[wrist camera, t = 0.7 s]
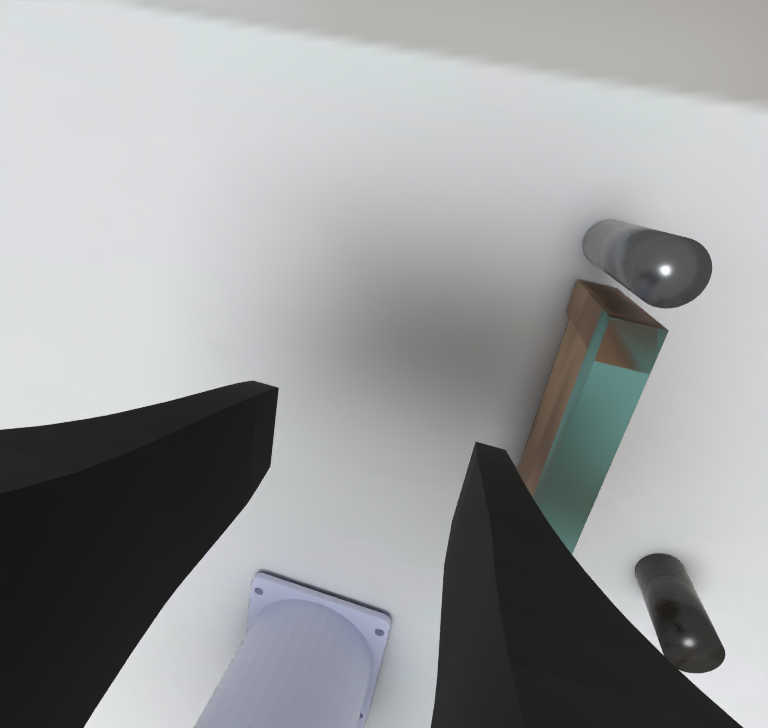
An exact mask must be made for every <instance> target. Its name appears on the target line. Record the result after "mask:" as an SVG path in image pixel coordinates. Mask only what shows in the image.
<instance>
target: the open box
mask: <svg viewBox="0 0 768 728" xmlns="http://www.w3.org/2000/svg"><path fill="white" fill-rule="evenodd" d="M566 312H567V314H568V315H569V317H570V319H569V322H568V325H567V328H566V331H565V333H564V336H563V339H562V342H561V345H560V348H559V351H558V354H557V357H556V360H555V363H554V365H553V368H552V371H551V374H550V377H549V380H548V383H547V386H546V389H545V392H544V395H543V397H542V400H541V403H540V406H539V409H538V412H537V415H536V418H535V421H534V424H533V426H532V429H531V432H530V435H529V438H528V441H527V444H526V447H525V450H524V453H523V456H522V458H521V461H520V464H519V467H518V470H517V471H518V473H519V475H520V476H521V478H522V480H523V482H524V483H525V485H526V487H527V489H528V490H529V492H530V494H531V495H532V497H533V499H534V500H535V502H536V504H537V505H538V507H539V508H540V510H541V512H542V513H543V515H544V516H545V518H546V519H547V521H548V522H549V524H550V525H551V527H552V528H553V529H554V531H555V532H556V534H557V535H558V536H559V538H560V539H561V540H562V542H563V543H564V545H565V546H566V547H567V549H568V550H569V551H570V553H571V554H572V553H573V551H574V548H575V546H576V544H577V542H578V539H579V537H580V535H581V532H582V530H583V528H584V525H585V523H586V521H587V518H588V516H589V514H590V511H591V509H592V507H593V504H594V502H595V500H596V497H597V495H598V493H599V491H600V488H601V486H602V484H603V481H604V479H605V477H606V474H607V472H608V470H609V467H610V465H611V463H612V460H613V458H614V456H615V453H616V451H617V449H618V447H619V444H620V442H621V440H622V437H623V435H624V433H625V430H626V428H627V426H628V423H629V421H630V419H631V416H632V414H633V412H634V409H635V407H636V405H637V403H638V400H639V398H640V396H641V393H642V391H643V389H644V386H645V384H646V382H647V379H648V377H649V375H650V372H651V370H652V368H653V365H654V363H655V361H656V359H657V356H658V354H659V352H660V349H661V347H662V345H663V342H664V340H665V338H666V335H667V333H668V330H667V329H666V328H665V327H663V326H662V325H661V324H660V323H659V322H657V321H656V320H655V319H654V318H653V317H651V316H650V315H649V314H648V313H646V312H645V311H644V310H643V309H642V308H640V307H639V306H638V305H637V304H635V303H634V302H633V301H632V300H631V299H629V298H628V297H627V296H626V295H624V294H623V293H622V292H621V291H620V290H618V289H617V288H613V287H608V286H604V285H599V284H595V283H590V282H585V281H581V280H577V281H576V284H575V287H574V290H573V293H572V296H571V299H570V302H569V305H568V308H567V310H566Z"/></svg>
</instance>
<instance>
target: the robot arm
mask: <svg viewBox="0 0 768 728" xmlns="http://www.w3.org/2000/svg"><path fill="white" fill-rule="evenodd" d="M278 389H279V388H278V387H274V386H270V385H267V384H263V383H259V382H256V381H247V382H241V383H237V384H232V385H228V386H224V387H220V388H217V389H213V390H209V391H205V392H202V393H198V394H194V395H190V396H187V397H183V398H179V399H175V400H172V401H168V402H164V403H159V404H155V405H151V406H146V407H142V408H138V409H133V410H129V411H125V412H120V413H116V414H111V415H106V416H101V417H95V418H90V419H84V420H77V421H71V422H64V423H58V424H51V425H43V426H35V427H25V428H14V429H4V430H0V728H84V726H85V724H86V723H87V721H88V720H89V718H90V716H91V715H92V713H93V711H94V710H95V708H96V707H97V705H98V704H99V702H100V701H101V699H102V698H103V696H104V694H105V693H106V691H107V690H108V688H109V687H110V685H111V684H112V682H113V681H114V679H115V678H116V676H117V674H118V673H119V671H120V670H121V668H122V667H123V665H124V664H125V662H126V661H127V659H128V658H129V656H130V655H131V653H132V652H133V650H134V649H135V647H136V646H137V644H138V643H139V641H140V640H141V638H142V637H143V635H144V634H145V632H146V631H147V630H148V628H149V627H150V625H151V624H152V622H153V621H154V619H155V618H156V616H157V615H158V613H159V612H160V610H161V609H162V608H163V606H164V605H165V603H166V602H167V601H168V600H169V598H170V597H171V596H172V594H173V593H174V592H175V590H176V589H177V588H178V587H179V585H180V584H181V583H182V582H183V580H184V579H185V578H186V577H187V576H188V574H189V573H190V572H191V571H192V570H193V568H194V567H195V566H196V565H197V564H198V562H199V561H200V560H201V559H202V558H203V556H204V555H205V554H206V553H207V552H208V551H209V549H210V548H211V547H212V546H213V545H214V543H215V542H216V541H217V540H218V539H219V537H220V536H221V535H222V534H223V533H224V531H225V530H226V529H227V528H228V527H229V525H230V524H231V523H232V522H233V520H234V519H235V518H236V517H237V516H238V514H239V513H240V512H241V511H242V509H243V508H244V507H245V506H246V504H247V503H248V502H249V500H250V499H251V497H252V495H253V494H254V492H255V491H256V489H257V488H258V486H259V484H260V483H261V481H262V479H263V478H264V476H265V474H266V473H267V471H268V469H269V468H270V465H271V455H272V446H273V436H274V427H275V417H276V408H277V398H278ZM390 627H391V619H390V618H389V617H388V616H387V615H385V614H383V613H380V612H377V611H374V610H371V609H368V608H365V607H362V606H359V605H357V604H354V603H351V602H348V601H345V600H342V599H339V598H336V597H333V596H330V595H327V594H324V593H321V592H318V591H315V590H312V589H309V588H306V587H303V586H300V585H297V584H294V583H291V582H288V581H285V580H282V579H279V578H276V577H273V576H270V575H268V574H265V573H257V574H255V576H254V577H253V579H252V583H251V593H250V603H249V613H248V623H247V633H246V637H245V639H244V640H243V642H242V644H241V646H240V647H239V649H238V651H237V653H236V654H235V656H234V658H233V660H232V661H231V663H230V665H229V667H228V669H227V670H226V672H225V674H224V676H223V677H222V679H221V681H220V683H219V684H218V686H217V688H216V690H215V691H214V693H213V695H212V697H211V698H210V700H209V702H208V704H207V705H206V707H205V709H204V711H203V712H202V714H201V716H200V718H199V719H198V721H197V723H196V725H195V726H194V728H364V726H365V723H366V719H367V715H368V711H369V707H370V703H371V700H372V696H373V692H374V688H375V684H376V680H377V677H378V673H379V669H380V665H381V661H382V657H383V654H384V650H385V646H386V642H387V638H388V635H389V631H390ZM380 629H381V630H380ZM431 728H743V727H742V726H741V725H739V724H738V723H737V722H736V721H735V720H734V719H733V718H731V717H730V716H729V715H728V714H727V713H726V712H725V711H724V710H722V709H721V708H720V707H719V706H718V705H717V704H716V703H714V702H713V701H712V700H711V699H710V698H709V697H708V696H706V695H705V694H704V693H703V692H702V691H701V690H700V689H699V688H697V687H696V686H695V685H694V684H693V683H692V682H691V681H690V680H689V679H688V678H687V677H686V676H685V675H683V674H682V673H681V672H680V671H679V670H678V669H677V668H676V667H675V666H674V665H673V664H672V663H671V662H670V661H669V660H667V659H666V658H665V657H664V656H663V655H662V654H661V653H660V652H659V651H658V650H657V649H656V648H655V647H654V646H653V645H652V644H651V643H650V642H649V641H648V640H647V639H646V638H645V637H644V636H643V635H642V634H641V633H640V632H639V631H638V630H637V629H636V628H635V627H634V626H633V625H632V624H631V622H630V621H629V620H628V619H627V618H626V617H625V616H624V615H623V614H622V613H621V612H620V611H619V610H618V609H617V607H616V606H615V605H614V604H613V603H612V602H611V601H610V600H609V599H608V597H607V596H606V595H605V594H604V593H603V592H602V590H601V589H600V588H599V587H598V586H597V585H596V583H595V582H594V581H593V580H592V579H591V578H590V576H589V575H588V574H587V573H586V572H585V571H584V569H583V568H582V567H581V566H580V564H579V563H578V562H577V561H576V559H575V558H574V557H573V555H572V554H571V553H570V551H569V550H568V549H567V547H566V546H565V545H564V543H563V542H562V540H561V539H560V538H559V536H558V535H557V534H556V532H555V531H554V529H553V528H552V527H551V525H550V524H549V522H548V521H547V519H546V518H545V516H544V515H543V513H542V512H541V510H540V508H539V507H538V505H537V504H536V502H535V500H534V499H533V497H532V495H531V494H530V492H529V490H528V489H527V487H526V485H525V483H524V482H523V480H522V478H521V476H520V475H519V473H518V471H517V469H516V467H515V466H514V464H513V462H512V460H511V459H510V457H509V455H508V453H507V452H506V450H504V449H500V448H496V447H493V446H489V445H485V444H482V443H478V442H475V446H474V449H473V453H472V456H471V459H470V463H469V466H468V470H467V473H466V476H465V480H464V483H463V486H462V490H461V493H460V497H459V500H458V503H457V507H456V510H455V513H454V517H453V520H452V525H451V530H450V536H449V541H448V547H447V552H446V558H445V564H444V577H443V592H442V608H441V625H440V641H439V658H438V674H437V684H436V694H435V704H434V710H433V717H432V723H431Z"/></svg>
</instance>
